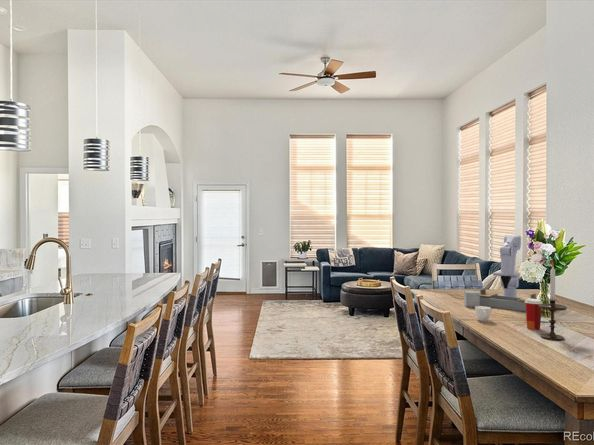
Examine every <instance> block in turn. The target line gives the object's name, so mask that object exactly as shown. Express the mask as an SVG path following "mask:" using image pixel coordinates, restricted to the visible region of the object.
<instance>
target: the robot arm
mask: <svg viewBox="0 0 594 445" xmlns="http://www.w3.org/2000/svg"><path fill="white" fill-rule="evenodd" d="M521 247H522V236H521V235H507V234H506V235H504V237H503V245H502V246H501V247H500V248H499V255H500V272H494V271H493V272H492V275H493V277H495V276H496V277H500V285H501V287H502V288H503V290H502V292H503V295H502V296H510V297H518V291H517V289H518V288H519V285H520V282H519V280H520V274H519V273H515V271H516V270H515V269H516V260H517V253H518V251H519V250H521Z"/></svg>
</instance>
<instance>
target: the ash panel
mask: <svg viewBox="0 0 594 445" xmlns="http://www.w3.org/2000/svg"><path fill="white" fill-rule="evenodd" d="M520 298H521V299H518V301H521V302H525V300H526V299H537V298H538V297H537V295H536V293H532V294H530V296H526V295H525V296H523V297H520Z"/></svg>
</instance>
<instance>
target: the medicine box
mask: <svg viewBox="0 0 594 445" xmlns="http://www.w3.org/2000/svg"><path fill="white" fill-rule="evenodd" d="M463 295H464V301H463V302H464V306H465V307H466V308H475V307H476V306H480V292H478V291H464V294H463Z"/></svg>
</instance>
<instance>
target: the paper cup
mask: <svg viewBox="0 0 594 445" xmlns="http://www.w3.org/2000/svg"><path fill="white" fill-rule="evenodd" d="M525 303H526V311H525V318H526V320H525V321H526V329H527V330H530V331H540V330H541V322H542V321H541V320H542V310H543V309H542V308H539V304H544V303H543V302H542V299H540V298H539V299H526V300H525Z"/></svg>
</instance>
